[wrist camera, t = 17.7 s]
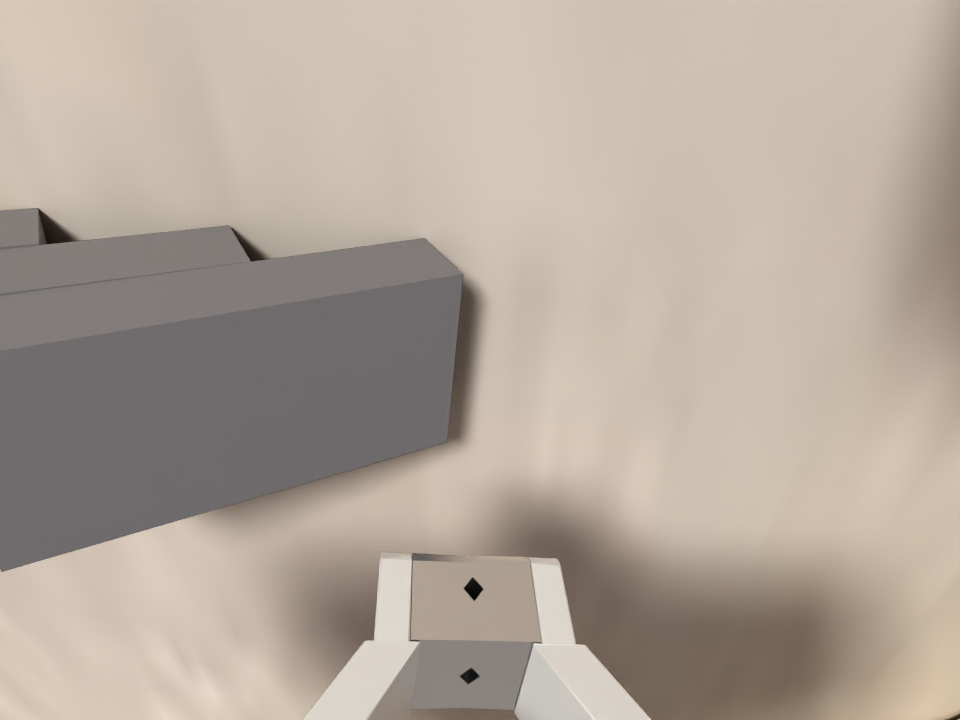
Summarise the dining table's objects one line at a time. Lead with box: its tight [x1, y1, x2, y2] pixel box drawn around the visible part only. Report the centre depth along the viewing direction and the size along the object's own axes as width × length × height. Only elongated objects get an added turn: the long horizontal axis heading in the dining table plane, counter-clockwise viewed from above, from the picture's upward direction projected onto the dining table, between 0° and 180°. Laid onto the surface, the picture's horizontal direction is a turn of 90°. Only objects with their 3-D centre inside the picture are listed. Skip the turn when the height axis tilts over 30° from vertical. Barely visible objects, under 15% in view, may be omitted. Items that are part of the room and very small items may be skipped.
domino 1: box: [0, 226, 251, 295], centre depth 15 cm, size 2×5×10 cm
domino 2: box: [0, 238, 463, 572], centre depth 15 cm, size 2×5×10 cm
